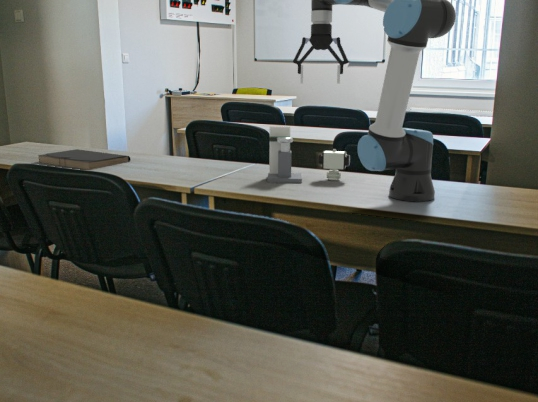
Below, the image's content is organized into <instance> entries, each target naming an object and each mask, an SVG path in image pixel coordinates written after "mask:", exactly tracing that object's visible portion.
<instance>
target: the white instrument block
mask: <svg viewBox="0 0 538 402" xmlns="http://www.w3.org/2000/svg"><path fill="white" fill-rule="evenodd" d="M268 141H269V142H270V141H277V142H278V143H281V152H289V143H290V144H291V143H293V142H294V137H291V136H290V137H270V136H269V139H268Z"/></svg>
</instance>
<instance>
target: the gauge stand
mask: <svg viewBox="0 0 538 402" xmlns="http://www.w3.org/2000/svg"><path fill="white" fill-rule="evenodd" d="M269 137H291V126H279V125H278V126H271V125H270V126H269ZM268 152H269V159H268V160H269V164H268V166H269V168H268V169H269V171H268V173H267V180H266V181H267V183H269V184H270V183H272V184H273V183H280V184H282V183H283V184H287V183H288V184H289V183H292V184H293V183H296V184H301V183H303V181H302V180H303V178H302V173H301V172H292V150H291V143H289V152H281V143H278V142H277V141H269V151H268Z"/></svg>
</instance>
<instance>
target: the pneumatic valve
mask: <svg viewBox="0 0 538 402" xmlns="http://www.w3.org/2000/svg"><path fill="white" fill-rule="evenodd" d="M317 161H318V166H320V167H321V169H325V170H326V169H328V172H326V179H327V180H329V181H334V182H335V181H339V179H341V177H342V176H341V175H342V173H341V172H340V170H346V167H350V163H351V155H350V154H348V153H347V151H346V150H344V151H341V150H340V151H339V150H338V151H337V149H336V148H333V150H323V151H322V152H321V153H319V154H318V160H317Z"/></svg>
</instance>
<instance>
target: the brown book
mask: <svg viewBox="0 0 538 402" xmlns="http://www.w3.org/2000/svg"><path fill="white" fill-rule="evenodd" d="M37 156H38V163H41V164H49V165H55V166H64V167H69V168H76V169H77V168H78V169H83V170H88V171H90V170H96V169H101V168H106V167H110V166H115V165H119V164H125V163H128V162H129V163H130V162H131V157H130V155H126V154H116V153H108V152H100V151H95V150H94V151H93V150H87V149H86V150H85V149H69V150H62V151H56V152H55V151H54V152H49V153H44V154H38V155H37Z"/></svg>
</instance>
